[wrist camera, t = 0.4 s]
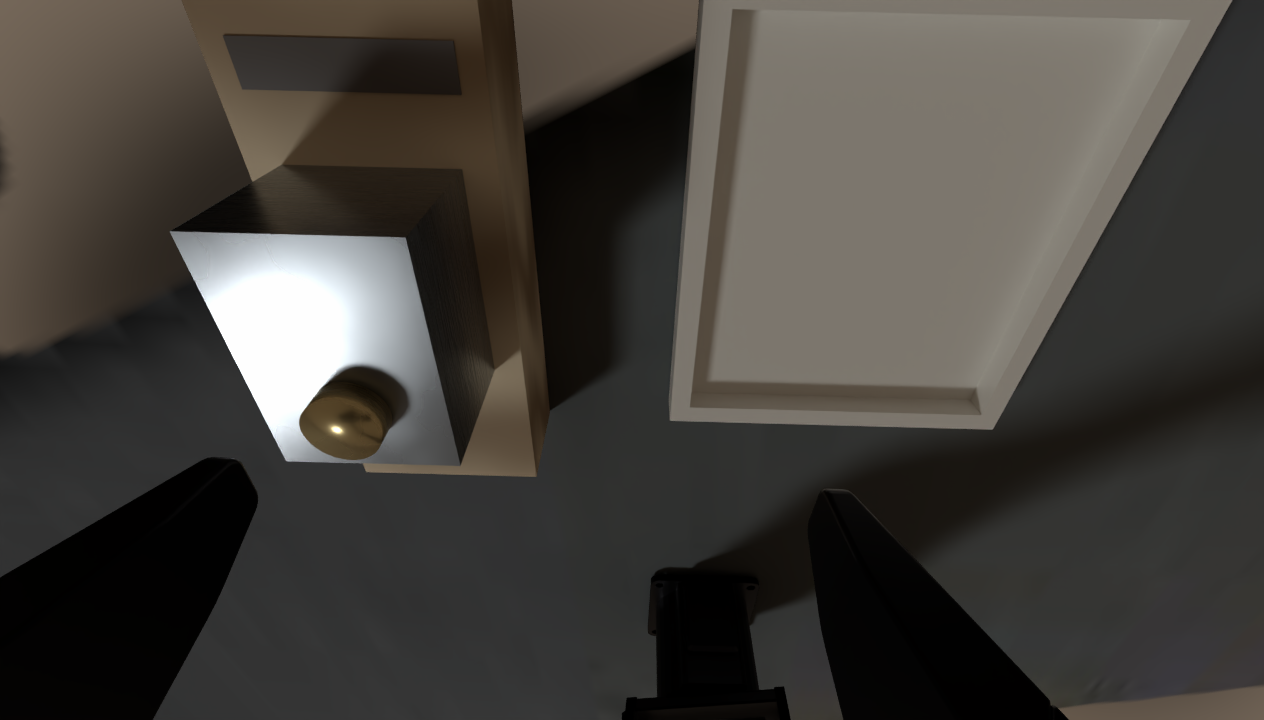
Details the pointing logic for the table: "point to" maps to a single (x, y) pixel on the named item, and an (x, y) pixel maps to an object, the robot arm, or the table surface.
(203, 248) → the dark grey block
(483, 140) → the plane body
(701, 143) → the parts tray
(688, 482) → the table surface
